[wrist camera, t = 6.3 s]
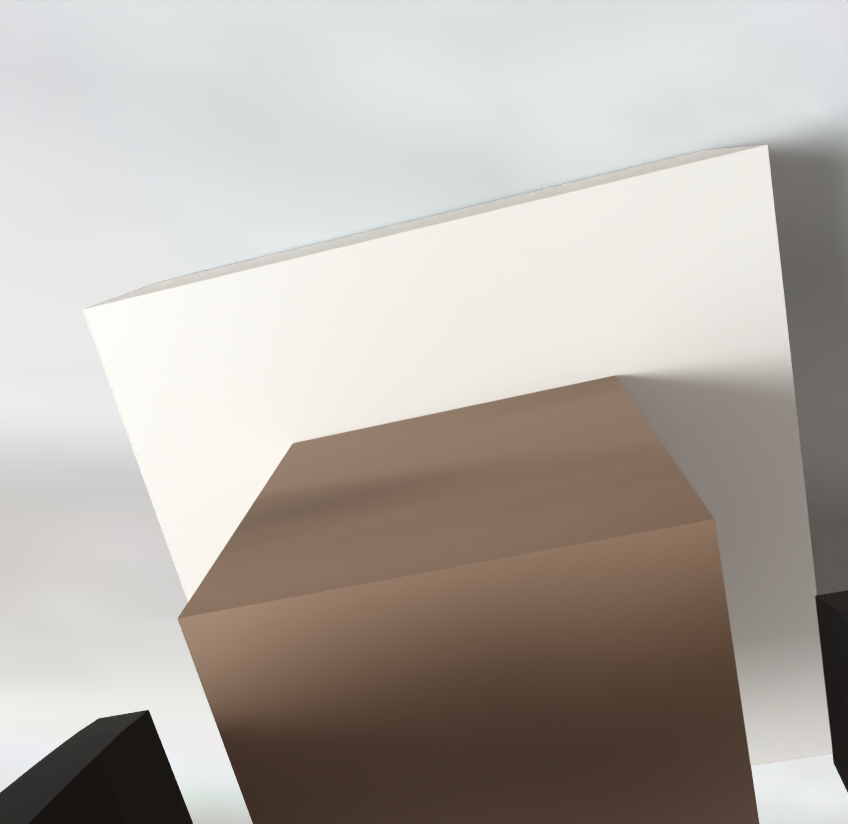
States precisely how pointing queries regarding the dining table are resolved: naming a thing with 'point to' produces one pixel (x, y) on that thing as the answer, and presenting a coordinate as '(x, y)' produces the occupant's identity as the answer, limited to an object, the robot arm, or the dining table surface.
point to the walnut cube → (478, 626)
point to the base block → (508, 373)
